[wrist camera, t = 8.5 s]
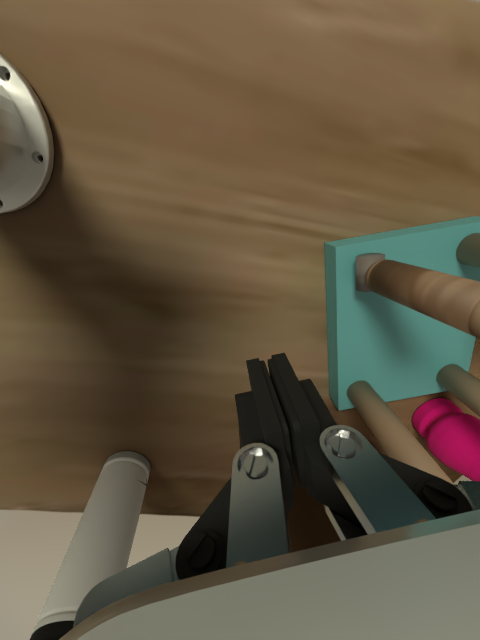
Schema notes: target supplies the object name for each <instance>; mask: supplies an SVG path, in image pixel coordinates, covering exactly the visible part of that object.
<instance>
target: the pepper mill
mask: <svg viewBox="0 0 480 640" xmlns="http://www.w3.org/2000/svg"><path fill="white" fill-rule="evenodd" d="M412 423H413V426H414V428H415V429H416V430H417V431H418V432H419V433H420V435H421V436H422V437H424V438H425V439H426V442H427V446H428V448H429V450H430V451H431V453H432V454H433V455H434V456H435V457H436V458H437V459H438V460H439V461H441V462H442V463H444V464H445V465H446V466H448V467H450V468H451V469H453V470H455V471H457V472H459V473H461V474H462V475H464V476H466V477H467V478H469V479H470V480H472V481H480V420H479V419H478V418H476V417H474V416H472V415H469V414H464V413H463V412H462V410H461V409H460V408H459V407H457V406H456V405H455V404H454V403H453V402H452V401H450V400H448V399H445V398H436V399H431V400H429V401H427V402H425V403H423V404H422V405H421V406H420V407H419V408H418V409H417V410H416V411H415V413H414V415H413V418H412Z"/></svg>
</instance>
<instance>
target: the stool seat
mask: <svg viewBox="0 0 480 640" xmlns="http://www.w3.org/2000/svg"><path fill="white" fill-rule="evenodd" d="M324 250H325V280H326V310H327V340H328V369H329V395H330V397H331V399H332V400H333V402H334V404H335V405H336V407H337V409H338V411H340V410H345V409H351V408H355V409H356V410H357V412H358V413H359V415H360V416H361V418H362V419H363V421H364V422H365V424H366V425H367V426H368V428H369V429H370V431H371V432H372V434H373V435H374V437H375V438H376V440H377V441H378V443H379V444H380V446H381V447H382V449H383V450H384V452H385V453H386V455H387V456H388V457H391V458H393V459H396V460H398V461H400V462H403V463H405V464H408V465H410V466H413V467H415V468H417V469H420V470H422V471H425V472H427V473H430V474H432V475H434V476H437V477H439V478H442V479H444V480H445V481H447V482H449V483H451V484H453V485H455V484H454V483H453V482H452V481H451V480H450V478H449V477H448V476H447V475H446V474H445V473H444V471H443V470H442V469H441V468H440V467H439V465H438V464H437V463H436V462H435V461H434V460H433V458H432V457H431V456H430V455H429V454H428V452H427V451H426V450H425V449H424V448H423V446H422V445H421V444H420V443H419V442H418V441H417V439H416V438H415V437H414V436H413V435H412V433H411V432H410V431H409V430H408V429H407V428H406V426H405V425H404V424H403V423H402V422H401V420H400V419H399V418H398V417H397V416H396V415H395V413H394V412H393V411H392V410H391V409H390V407H389V406H388V405H387V404H386V403H385V402H389V401H394V400H400V399H405V398H411V397H416V396H422V395H427V394H433V393H438V392H444V391H449V392H450V393H451V394H452V395H454V396H455V397H456V398H457V399H459V400H460V401H461V402H462V403H464V404H465V405H466V406H467V407H468V408H470V409H471V410H472V411H473V412H475V413H476V414H477V415H478V416H480V380H479V379H478V378H476V377H475V376H473V375H472V374H470V373H469V367H470V363H471V358H472V353H473V349H474V344H475V339H476V337H474V336H472V335H470V334H467V333H465V332H463V331H461V330H458V329H456V328H454V327H451V326H449V325H447V324H445V323H442V322H440V321H438V320H435V319H433V318H431V317H429V316H426V315H424V314H422V313H419V312H417V311H415V310H413V309H410V308H408V307H406V306H404V305H401V304H399V303H397V302H394V301H392V300H390V299H388V298H385V297H383V296H381V295H378V294H376V293H374V292H362V291H358V290H356V289H355V281H356V256H358V255H360V254H366V253H382V254H385V259H388V260H394V261H398V262H402V263H406V264H410V265H414V266H418V267H422V268H426V269H430V270H434V271H439V272H443V273H447V274H451V275H455V276H459V277H463V278H467V279H471V280H475V281H479V282H480V217H478V216H473V217H467V218H462V219H456V220H450V221H445V222H439V223H433V224H428V225H422V226H416V227H411V228H405V229H399V230H394V231H388V232H382V233H377V234H371V235H365V236H360V237H354V238H348V239H343V240H337V241H331V242H326V243H324Z"/></svg>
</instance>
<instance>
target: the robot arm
mask: <svg viewBox="0 0 480 640" xmlns="http://www.w3.org/2000/svg"><path fill="white" fill-rule="evenodd" d="M10 75H11V77H10V79H9V76H10ZM41 156H43V162H42V160H41ZM53 162H54V145H53V136H52V132H51V128H50V125H49V121H48V118H47V116H46V113H45V111H44V109H43V107H42V104H41V102H40V100H39V98H38V97H37V95H36V94H35V92H34V91H33V89H32V87H31V86H30V84H29V83H28V81H27V80H26V79H25V78H24V77H23V75H22V74H21V73H20V72H19V71H18V70H17V68H16V67H15V66H14V65H13V64H12V63H10V62H9V61H8V60H7V59H6V58H5V57H4V56H3V55H2V54H1V53H0V213H7V212H13V211H16V210H19V209H22V208H24V207H26V206H28V205H29V204H31V203H32V202H34V201H35V200H36V199H37V198H38V197H39V196H40V195H41V193H42V192H43V191H44V189H45V187H46V186H47V184H48V182H49V180H50V176H51V173H52V169H53ZM2 202H3V204H2ZM246 363H247V368H248V373H249V379H250V384H251V389H252V391H250V392H245V393H240V394H236V395H235V399H236V406H237V413H238V420H239V426H240V433H241V440H242V448H241V449H240V450H239V451H238V452H237V454H236V455H235V457H234V460H233V464H232V477H231V478H230V480H229V481H228V482H227V484H226V485H225V486H224V487H223V489H222V490H221V491H220V493H219V494H218V495H217V496H216V498H215V499H214V500H213V502H212V503H211V504H210V505H209V507H208V508H207V509H206V511H205V512H204V513H203V514H202V516H201V517H200V518H199V520H198V521H197V522H196V523H195V525H194V526H193V527H192V528H191V530H190V531H189V533H188V534H187V535H186V536H185V538H184V539H183V541H182V543H181V544H180V546H178V547H176V548H174V549H172V550H170V551H169V549H168V548H166V549H164V550H162V551H160V552H159V553H156V554H154V555H152V556H150V557H149V558H147V559H145V560H142V561H141V562H139V563H137V564H135V565H133V566H131V567H129V568H127V569H125V570H123V571H121V572H119V573H117V574H115V575H113V576H111V577H109V578H107V579H105V580H103V581H101V582H100V583H99V584H97V585H96V586H94V587H93V588H92V589H91V590H90V591H89V593H88V594H87V595H86V596H85V597H84V599H83V601H82V603H81V604H80V606H79V608H78V610H77V613H76V617H75V620H74V624H73V629H72V630H70V631H69V632H68V633H67V634H65V635H64V636H63V637H62V638H60V639H59V640H480V481H459V483H458V485H453V484H451V483H449V482H447V481H445V480H444V479H442V478H439V477H437V476H434V475H432V474H430V473H427V472H425V471H422V470H420V469H417V468H415V467H413V466H410V465H408V464H405V463H403V462H400V461H398V460H396V459H393V458H391V457H388V456H386V455H384V454H381V453H379V452H377V451H376V449H375V448H374V447H373V446H372V445H371V444H370V443H369V441H368V440H367V439H366V438H365V437H364V436H363V435H362V434H361V433H360V432H359V431H358V430H356V429H354V428H352V427H349V426H345V425H337V424H336V423H335V421H334V419H333V417H332V416H331V414H330V412H329V410H328V409H327V407H326V405H325V403H324V402H323V400H322V398H321V396H320V395H319V393H318V391H317V389H316V388H315V386H314V384H313V382H312V381H311V380H310V379H307V380H302V381H298V379H297V377H296V375H295V373H294V371H293V369H292V367H291V365H290V363H289V361H288V359H287V357H286V355H285V353H281V354H276V355H272V359H268V367H269V373H268V370H267V367H266V364H265V362H264V361H259V358H257V359H252V360H247V361H246ZM269 374H270V376H269ZM293 468H294V470H293ZM294 471H295V474H296V477H297V480H298V483H299V486H300V488H302V487H305V488H306V490H307V493H308V496H309V497H310V496H313V499H315V500H317V501H318V502H320V503H322V504H323V506H324V508H325V511H326V513H327V515H328V517H329V519H330V521H331V523H332V524H333V526H334V528H335V530H336V532H337V534H338V536H339V537H340V539H341V541H339V542H335V543H330V544H326V545H322V546H318V547H313V548H309V549H305V550H301V551H296V552H292V553H291V545H290V536H289V527H288V519H287V516H288V514H289V513H290V511H291V509H292V507H293V505H294V503H295V500H294V492H293V490H294V489H296V486H295V478H294Z"/></svg>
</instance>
